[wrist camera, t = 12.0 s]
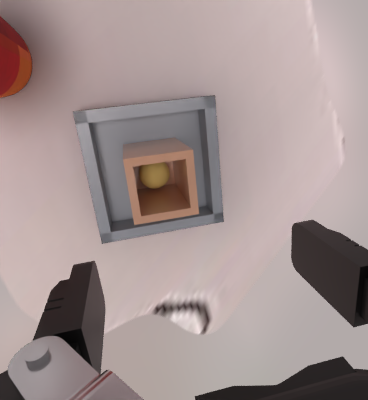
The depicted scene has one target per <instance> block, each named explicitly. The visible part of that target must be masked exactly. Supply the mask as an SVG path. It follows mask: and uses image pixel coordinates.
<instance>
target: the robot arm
mask: <svg viewBox="0 0 368 400" xmlns="http://www.w3.org/2000/svg"><path fill="white" fill-rule="evenodd" d="M291 251H292V253H291V258H292V263H293V266H294V268H295V270H296V271H297V272H298V273H299V274H300V275H301V276H302V277H303V278H304V279H305V280H306V281H307V282H308V283H309V284H310V285H311V286H312V287H313V288H315V290H316V291H317V292H318V293H319V294H320V295H321V296H322V297H324V299H325V300H326V301H327V302H328V303H329V304H330V305H332V307H334V309H336V310H337V311H338V312H339V313H340V314H341V315H342V316H343V317H344V318H345V319H346V320H347V321H348V322H349V323H350V324H351V325H352V326H353V327H357V326H361V325H364V324H368V250H367V249H366V248H364V247H362V246H359V244H357V243H356V242H354V241H351V240H350V239H349V238H348V237H346V236H344V235H343V234H341V233H339V232H335V231H332V230H329V229H327V228H325V227H324V226H322V225H321V224H319V223H317V222H316V221H314V220H308V221H303V222H298V223H294V224H293V226H292V250H291ZM104 322H105V301H104V295H103V291H102V287H101V282H100V278H99V274H98V270H97V266H96V263H95V261H91V262H86V263H80V264H75V265H73V268H72V272H71V275H70V278H69V279H68V280H63V281H60V282H59V283H58V284H57V285H56V286H55V287H54V288H53V289H52V290H51V292H50V295H49V298H48V300H47V303H46V306H45V309H44V312H43V314H42V317H41V319H40V322H39V325H38V328H37V331H36V333H35V336H34V339H33V341H32V342H30V343H28V344H27V345H25V346H24V347H23V348H21V349H20V350H19V351H18V352H17V353H16V354H15V355H14V357H13V358H12V359H11V361H10V364H9V366H8V370H7V371H5V372H3V373H1V374H0V400H144V399H142V398H141V397H140V396H139V395H138V394H137V393H136V392H135V391H134V390H132V389H131V388H130V387H129V386H128V385H127V384H126V383H125V382H124V381H122V380H121V379H120V378H119V377H118V376H117V375H116V374H115V373H113V372H112V371H109V370H106V371H105V372H103V373H102V374H101V375H100V373H101V359H102V348H103V335H104ZM195 400H368V370H363V369H353V368H352V367H351V366H350V364H349V363H348V362H347V361H346V360H345V359H344V357H340V358H335V359H332V360H328V361H324V362H321V363H317V364H313V365H310V366H307V367H306V368H304V369H303V370H301V371H299V372H298V373H296V374H295V375H293V376H291V377H290V378H288V379H286V380H285V381H283V382H282V383H280V384H278V385H271V386H270V385H269V386H232V387H228V388H225V389H221V390H217V391H213V392H210V393H206V394H203V395H199V396H195Z"/></svg>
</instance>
